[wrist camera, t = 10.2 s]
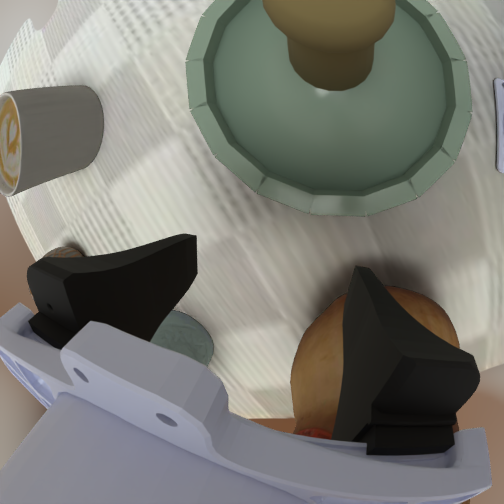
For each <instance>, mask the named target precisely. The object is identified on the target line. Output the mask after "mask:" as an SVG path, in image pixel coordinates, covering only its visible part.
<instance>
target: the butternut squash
mask: <svg viewBox="0 0 504 504" xmlns="http://www.w3.org/2000/svg"><path fill="white" fill-rule="evenodd" d="M384 287H385V288H386V289H387V291H388V292H389V293H390V294H391V295H392V296H393V297H394V299H395V300H396V301H397V302H398V303H399V304H400V305H401V306H402V307H403V308H404V309H405V310H406V311H407V312H408V313H409V314H410V315H411V316H412V317H414V318H415V319H416V320H417V321H418V322H419V323H421V324H422V325H423V326H424V327H426V328H427V329H428V330H430V331H431V332H432V333H434V334H435V335H437V336H438V337H440V338H441V339H443V340H445V341H446V342H448V343H450V344H451V345H453V346H455V347H457V348H459V349H460V347H459V341H458V337H457V334H456V331H455V329H454V326H453V324H452V322H451V320H450V318H449V316H448V315H447V313H446V312H445V311H444V309H443V308H442V307H441V306H440V305H438V304H437V303H436V302H434V301H433V300H431V299H430V298H428V297H426V296H424V295H422V294H419V293H416V292H414V291H411V290H406V289H402V288H398V287H393V286H384ZM346 297H347V293H346V294H344V295H342V296H341V297H339V298H337V299H336V300H335V301H334V302H333V303H332V304H331V305H330V306H329V307H328V308H327V309H326V310H325V311H324V312H323V313H322V314H321V315H320V316H319V317H318V318H316V320H315V321H314V322H313V323H312V324H311V325H310V326H309V327H308V328H307V330H306V331H305V333H304V334H303V337H302V339H301V341H300V343H299V346H298V349H297V352H296V355H295V358H294V362H293V365H292V370H291V380H290V384H291V392H292V401H293V410H294V416H295V421H296V427H295V430H294V433H293V434H296V435H301V436H307V437H314V438H321V439H328V440H331V437H332V433H333V429H334V424H335V419H336V414H337V409H338V404H339V398H340V391H341V384H342V376H343V328H342V322H343V310H344V303H345V300H346ZM456 418H457V417H456ZM452 426H453V433H455V432H457V431H459V427H458V423H457V422H456V424H455V425H452ZM460 504H470V499H468V500H466V501H464V502H462V503H460Z"/></svg>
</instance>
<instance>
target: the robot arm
mask: <svg viewBox="0 0 504 504" xmlns="http://www.w3.org/2000/svg"><path fill="white" fill-rule="evenodd" d="M502 83H503V85H504V80H502V79H499V78H496V79H494V88H495V98H496V110H497V170H498V171H499V172H501V173H504V88H503V86H502ZM197 274H198V272H197V236H196V235H190V234H179V235H175V236H172V237H168V238H165V239H162V240H159V241H156V242H153V243H149V244H146V245H143V246H139V247H136V248H132V249H129V250H125V251H121V252H116V253H111V254H104V255H97V256H89V257H67V258H65V257H43V258H41V259H40V260H38V261H37V262H35V263H34V264H32V265H31V266H29V268H28V270H27V280H28V284H29V288H30V291H31V293H32V296H33V298H34V301H35V303H36V306H37V308H38V311H39V312H38V313H37V314H36V315H34V314H33V312H32V311H31V310H30V309H28V308H27V307H26V306H24V305H23V304H22V303H18V304H17V305H15V306H14V307H13V308H12V309H10V310H9V311H8V312H7V313H6V314H4V315H3V316H2V317H1V318H0V357H1V359H2V360H3V362H4V363H5V364H6V366H7V368H8V369H9V371H10V372H11V373H12V374H13V375H14V376H15V377H16V378H17V379H18V380H19V381H20V382H21V383H22V384H23V385H24V386H25V387H26V388H27V390H28V391H29V392H30V393H31V394H33V395H34V397H35V398H36V399H38V400H39V401H40V402H41V403H42V404H43V405H44V406H45V407H46V408H47V409H48V410H47V411H46V412H45V414H44V415H43V416H42V417H41V418H40V420H39V421H38V422H37V423H36V425H35V426H34V427H33V429H32V430H31V431H30V432H29V434H28V435H27V436H26V437H25V439H24V440H23V441H22V442H21V444H20V445H19V446H18V448H17V449H16V450H15V452H14V453H13V454H12V456H11V457H10V458H9V460H8V461H7V462H6V464H5V465H4V466H3V468H2V469H1V471H0V504H460V503H462V502H464V501H466V500H468V499H470V498H472V497H474V496H476V495H478V494H480V493H482V492H483V491H485V490H487V489H489V488H490V487H491V486H492V478H491V468H490V459H489V452H488V446H487V440H486V434H485V429H484V428H483V427H480V428H472V429H464V430H460V431H457V432H455V433H453V426H452V425H455V424H456V422H457V418H456V412H457V411H458V410H459V409H460V408H461V407H462V406H463V405H464V404H465V403H466V402H467V400H468V399H469V398H470V397H471V396H472V395H473V393H474V392H475V391H476V389H477V387H478V384H479V382H480V373H479V370H478V367H477V365H476V362H475V359H474V356H473V355H471V354H469V353H467V352H465V351H463V350H461V349H459V348H457V347H455V346H453V345H451V344H450V343H448V342H446V341H445V340H443V339H441V338H440V337H438V336H437V335H435V334H434V333H432V332H431V331H430V330H428V329H427V328H426V327H424V326H423V325H422V324H421V323H419V322H418V321H417V320H416V319H415V318H414V317H412V316H411V315H410V314H409V313H408V312H407V311H406V310H405V309H404V308H403V307H402V306H401V305H400V304H399V303H398V302H397V301H396V300H395V299H394V297H393V296H392V295H391V294H390V293H389V292H388V291H387V289H386V288H385V287H384V286H383V284H382V283H381V282H380V281H379V279H378V278H377V277H376V276H375V274H374V273H373V272H372V271H371V270H370V269H369V268H365V267H360V266H355V269H354V273H353V277H352V280H351V283H350V287H349V290H348V293H347V297H346V300H345V303H344V310H343V322H342V328H343V376H342V384H341V391H340V398H339V404H338V409H337V414H336V419H335V424H334V429H333V433H332V437H331V440H328V439H321V438H314V437H307V436H301V435H296V434H290V433H285V432H280V431H275V430H272V429H270V428H267V427H265V426H262V425H260V424H257V423H255V422H252V421H250V420H248V419H246V418H243V417H241V416H239V415H237V414H234V413H232V412H230V411H229V409H228V394H227V392H226V389H225V387H224V385H223V382H222V381H221V379H220V378H219V377H218V376H216V375H215V374H214V373H213V372H212V371H211V370H210V369H209V368H208V367H207V366H205V365H204V364H202V363H200V362H198V361H196V360H194V359H192V358H190V357H188V356H186V355H183V354H181V353H178V352H175V351H172V350H169V349H166V348H164V347H161V346H158V345H156V344H153V343H151V342H150V341H151V339H152V338H153V336H154V334H155V333H156V331H157V329H158V328H159V326H160V325H161V323H162V322H163V321H164V319H165V318H166V317H167V316H168V314H169V313H170V312H171V311H172V309H173V308H174V307H175V306H176V304H177V303H178V302H179V301H180V299H181V298H182V297H183V296H184V294H185V293H186V292H187V291H188V289H189V288H190V286H191V284H192V283H193V281H194V279H195V277H196V275H197Z"/></svg>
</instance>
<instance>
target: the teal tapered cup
mask: <svg viewBox="0 0 504 504" xmlns="http://www.w3.org/2000/svg"><path fill="white" fill-rule="evenodd" d="M150 342H151V343H153V344H156V345H158V346H161V347H164V348H166V349H169V350H172V351H175V352H178V353H181V354H183V355H186V356H188V357H190V358H192V359H194V360H196V361H198V362H200V363H202V364H204V365H205V366H208V364H209V362H210V360H211V357H212V355H213V349H214V348H213V342H212V339H211V337H210V335H209V334H208V332H207V331H206V329H205V328H204V327H203V326H202V325H201V324H200V323H198V322H197V321H196V320H195V319H193V318H192V317H190V316H188V315H186V314H184V313H182V312H179V311H174V310H172V311H171V312H170V313H169V314H168V316H167V317H166V318H165V319H164V321H163V322H162V323H161V325H160V326H159V328H158V329H157V331H156V333H155V334H154V336H153V338H152V339H151V341H150Z"/></svg>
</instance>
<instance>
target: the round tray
mask: <svg viewBox="0 0 504 504" xmlns="http://www.w3.org/2000/svg"><path fill="white" fill-rule="evenodd" d="M395 3H396V10H395V17H394V22H393V23H392V25H391V26H390V28H389V29H388V31H387V32H386V34H385V35H384V37H383V38H382V39H380V40H379V41H377V42H376V43H375V46H374V60H373V65H372V70H371V72H370V74H369V75H368V76H367V78H366V79H365V81H363V82H362V83H360V84H359V85H358V86H356V87H355V88H351V89H348V90H344V91H327V90H323V89H320V88H316V87H314V86H312V85H311V84H309V83H307V82H305V81H304V80H303V79H302V78H301V77H300V76H299V75H298V74H297V73H296V72H295V71H294V69H293V67H292V65H291V63H290V61H289V54H288V45H287V36H286V35H285V34H284V33H282V32H281V31H280V30H279V29H278V28H277V27H275V25H274V24H273V22H272V21H271V19H270V17H269V16H268V14H267V13H266V11H265V9H264V8H263V2H262V0H215V1H214V2H213V3H212V4H211V5H210V6H209V8H208V9H207V10H206V11H205V12H204V13H203V14H202V15H203V16H205V17H202V16H201V18H200V20H199V23H198V26H197V28H196V31H195V34H194V37H193V40H192V42H191V45H190V48H189V51H188V54H187V57H186V60H188V61H187V62H185V63H186V76H187V87H188V98H189V109H192V110H191V111H190V112H191V114H192V115H193V117H194V119H195V121H196V123H197V125H198V127H199V129H200V131H201V132H202V134H203V136H204V138H205V140H206V142H207V144H208V146H209V148H210V150H211V152H212V153H213V155H216V154H217V155H216V156H215V158H217V159H218V160H219V161H220V162H221V163H222V164H223V165H225V166H226V167H227V168H228V169H229V170H230V171H231V172H233V173H234V174H235V175H236V176H237V177H238V178H239V179H241V180H242V181H243V182H244V183H245V184H246V185H247V186H248V187H249V188H251V189H252V190H253V191H254V192H256V191H257V190H258V192H257V194H259V195H262V196H264V197H267V198H269V199H272V200H275V201H277V202H280V203H282V204H285V205H287V206H290V207H292V208H294V209H297V210H299V211H302V212H304V213H307V214H309V211H310V209H311V215H336V216H361V217H365V214H366V213H367V216H370V215H373V214H376V213H378V212H381V211H384V210H387V209H390V208H392V207H395V206H398V205H401V204H404V203H406V202H409V201H412V200H415V199H417V197H416V195H417V196H418V197H420V196H421V195H422V194H423V193H424V192H425V191H426V190H427V189H428V188H429V187H430V186H432V185H433V184H434V183H435V182H436V181H437V180H438V179H439V178H440V177H441V176H442V175H443V174H444V173H445V172H446V171H447V170H448V169H449V168H450V167H451V166H452V165H453V164H454V161H453V160H455V161H456V159H457V156H458V154H459V151H460V149H461V146H462V143H463V140H464V138H465V135H466V132H467V129H468V126H469V123H470V119H471V116H472V114H471V113H470V112H472V100H471V89H470V80H469V73H468V66H467V61H463V60H465V59H466V58H465V56H464V54H463V52H462V50H461V49H460V47H459V45H458V43H457V41H456V39H455V38H454V36H453V34H452V32H451V31H450V29H449V27H448V26H447V24H446V22H445V21H444V19H443V18H442V16H441V14H440V13H436V12H437V10H436V9H435V8H434V7H433V6H432V5H431V4H429V3H428V2H427V1H426V0H395Z"/></svg>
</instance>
